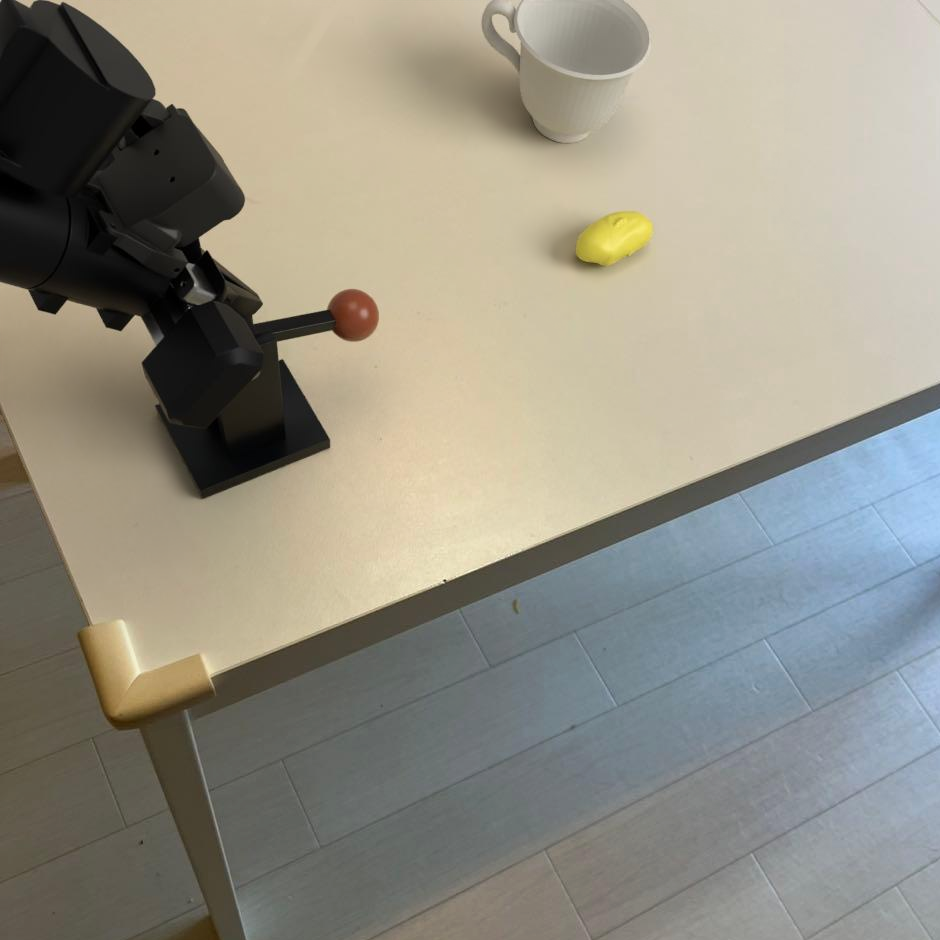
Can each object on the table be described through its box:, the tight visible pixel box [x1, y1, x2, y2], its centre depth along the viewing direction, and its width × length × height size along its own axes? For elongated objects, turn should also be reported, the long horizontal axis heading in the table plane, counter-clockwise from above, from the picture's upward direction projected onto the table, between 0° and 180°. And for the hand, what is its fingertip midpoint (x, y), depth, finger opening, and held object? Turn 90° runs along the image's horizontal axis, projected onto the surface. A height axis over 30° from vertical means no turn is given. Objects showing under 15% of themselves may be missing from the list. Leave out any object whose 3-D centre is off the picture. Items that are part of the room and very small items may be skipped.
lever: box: [244, 288, 380, 343], centre depth 69 cm, size 12×4×4 cm, turn 121°
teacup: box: [480, 0, 652, 144], centre depth 92 cm, size 12×15×10 cm
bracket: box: [154, 315, 331, 500], centre depth 70 cm, size 10×8×13 cm
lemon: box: [575, 210, 654, 267], centre depth 88 cm, size 4×8×4 cm, turn 120°
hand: (256, 305), depth 65 cm, fingers closed
